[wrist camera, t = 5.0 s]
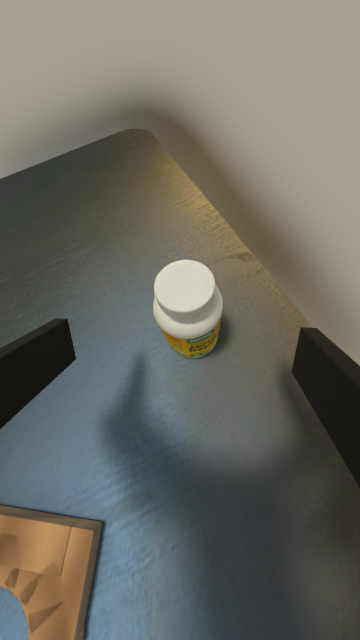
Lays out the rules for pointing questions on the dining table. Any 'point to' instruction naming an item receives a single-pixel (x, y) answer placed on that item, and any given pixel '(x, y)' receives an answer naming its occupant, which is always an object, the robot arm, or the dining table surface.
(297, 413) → the dining table surface
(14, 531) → the socket pad
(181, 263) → the supplement bottle
